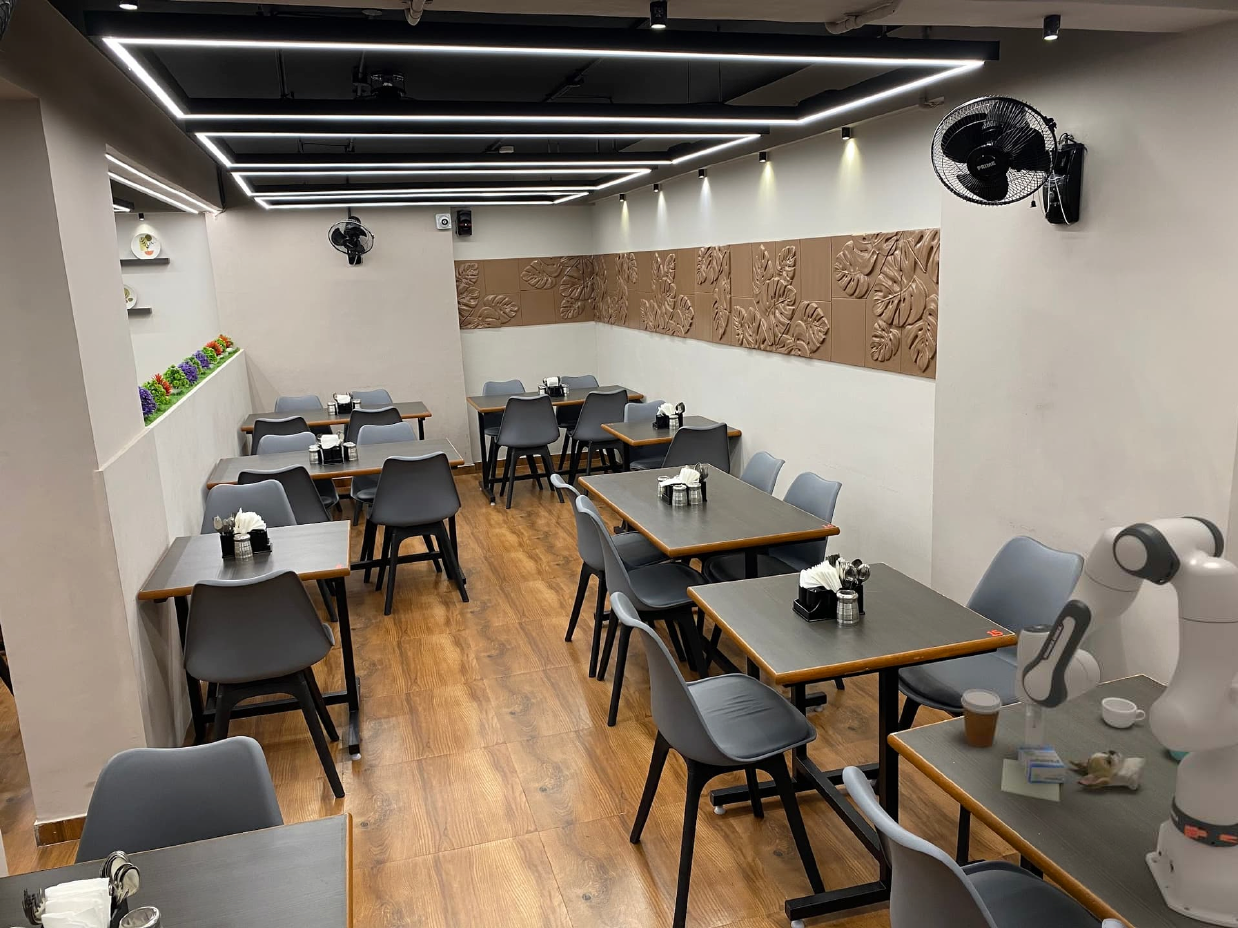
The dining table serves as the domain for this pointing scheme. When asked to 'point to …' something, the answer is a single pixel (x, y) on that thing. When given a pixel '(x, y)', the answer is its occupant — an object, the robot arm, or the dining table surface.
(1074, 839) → the dining table surface
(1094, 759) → the ceramic sculpture
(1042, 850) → the dining table surface
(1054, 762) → the medicine box
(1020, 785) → the mat
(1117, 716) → the teacup
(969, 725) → the disposable coffee cup
